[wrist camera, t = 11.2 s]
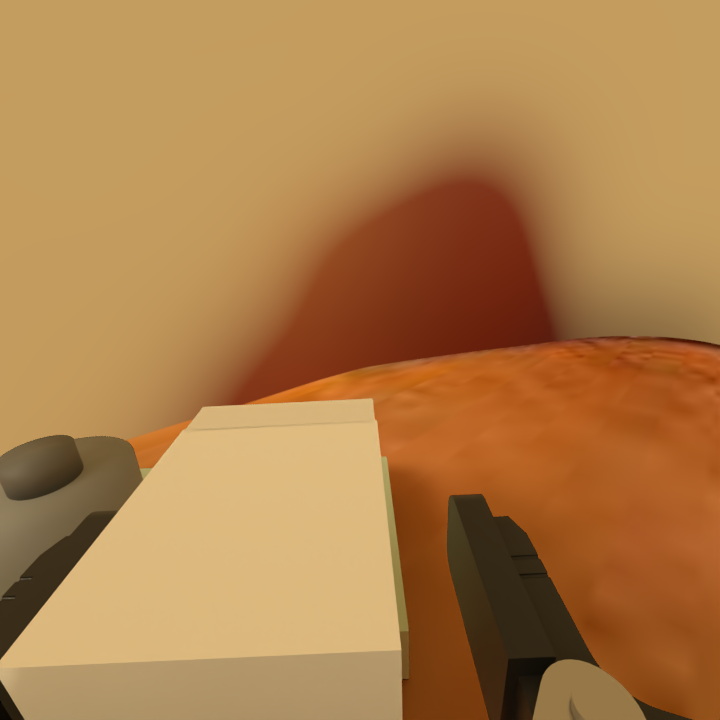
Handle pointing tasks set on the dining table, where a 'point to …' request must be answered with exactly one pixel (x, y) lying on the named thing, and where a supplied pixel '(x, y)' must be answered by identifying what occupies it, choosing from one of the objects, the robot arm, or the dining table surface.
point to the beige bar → (231, 583)
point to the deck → (96, 502)
